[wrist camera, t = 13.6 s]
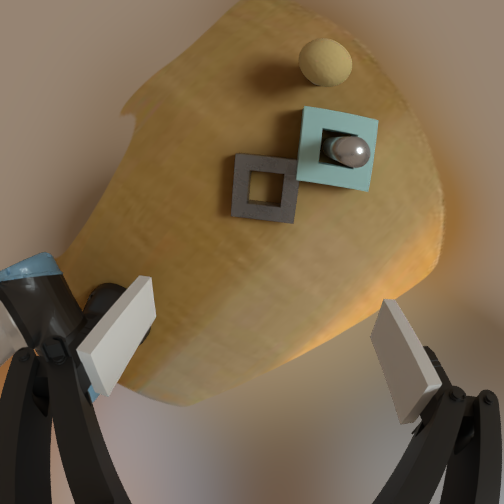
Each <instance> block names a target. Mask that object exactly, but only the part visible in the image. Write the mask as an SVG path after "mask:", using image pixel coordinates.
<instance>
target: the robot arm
mask: <svg viewBox="0 0 504 504" xmlns="http://www.w3.org/2000/svg"><path fill="white" fill-rule="evenodd" d="M155 318H156V311H155V304H154V296H153V288H152V279H151V277H147V276H140V275H139V277H138V278H137V279H136V280H135V281H134V282H133V283H132V284H131V285H130V286H129V288H128V289H126V288H124V287H122V286H120V285H117V284H112V283H105V284H102V285H100V286H98V287H97V288H96V289H95V290H94V291H93V292H92V293H91V294H90V296H89V298H88V301H87V303H86V305H85V308H84V310H83V312H82V310H81V309H80V307H79V305H78V303H77V302H76V300H75V298H74V296H73V294H72V292H71V290H70V288H69V286H68V284H67V282H66V280H65V278H64V276H63V272H62V271H60V269H59V267H58V265H57V264H56V262H55V260H54V258H53V256H52V255H51V254H49V253H46V252H42V253H39V254H37V255H34V256H32V257H30V258H27V259H25V260H23V261H21V262H19V263H16V264H14V265H12V266H10V267H8V268H6V269H4V270H2V271H0V366H1V365H3V364H4V363H5V362H6V361H7V360H8V359H9V358H10V357H11V356H12V355H13V354H14V353H15V354H14V355H13V358H12V361H11V364H10V367H9V370H8V373H7V376H6V380H5V383H4V387H3V390H2V394H1V398H0V504H52V498H51V481H50V443H51V427H52V418H53V423H54V428H55V434H56V439H57V444H58V448H59V452H60V456H61V460H62V464H63V468H64V471H65V474H66V478H67V481H68V484H69V487H70V490H71V493H72V496H73V499H74V502H75V504H132V503H131V501H130V500H129V498H128V496H127V494H126V491H125V490H124V487H123V485H122V483H121V481H120V479H119V477H118V474H117V472H116V470H115V467H114V465H113V462H112V460H111V458H110V455H109V452H108V450H107V447H106V444H105V442H104V439H103V436H102V433H101V430H100V427H99V424H98V421H97V418H96V415H95V411H94V407H93V404H92V403H93V402H94V401H95V400H96V398H97V397H98V396H99V395H100V394H101V395H104V396H107V397H109V395H110V393H111V392H112V390H113V388H114V387H115V385H116V383H117V381H118V380H119V378H120V376H121V374H122V373H123V371H124V369H125V367H126V366H127V364H128V362H129V361H130V359H131V357H132V356H133V354H134V352H135V351H136V349H137V347H138V346H139V345H140V344H142V343H143V342H144V340H145V339H146V337H147V336H148V334H149V332H150V329H151V324H152V323H153V321H154V319H155ZM370 338H371V340H372V343H373V346H374V348H375V351H376V353H377V356H378V359H379V361H380V364H381V367H382V370H383V373H384V375H385V378H386V381H387V384H388V387H389V390H390V393H391V396H392V399H393V402H394V405H395V408H396V412H397V415H398V418H399V421H400V424H407V423H413V422H414V421H415V420H416V419H417V418H418V416H419V415H420V416H421V419H422V421H421V422H420V424H419V425H418V426H417V427H416V428H415V430H414V431H413V432H412V434H413V433H414V436H413V437H412V439H411V442H410V443H409V445H408V447H407V449H406V451H405V453H404V455H403V456H402V458H401V460H400V462H399V463H398V465H397V467H396V468H395V470H394V472H393V473H392V475H391V477H390V478H389V480H388V481H387V483H386V485H385V486H384V487H383V489H382V490H381V492H380V493H379V495H378V496H377V498H376V499H375V501H374V502H373V503H372V504H429V503H430V501H431V499H432V496H433V495H434V493H435V490H436V489H437V486H438V484H439V482H440V480H441V477H442V475H443V473H444V470H445V468H446V465H447V469H446V475H445V481H444V486H443V491H442V495H441V500H440V504H499V497H500V487H501V471H502V439H501V423H500V412H499V403H498V399H497V396H496V395H495V394H494V393H493V392H492V391H490V390H483V391H481V392H480V394H479V395H478V396H477V397H472V396H466V393H465V392H464V391H463V390H462V389H461V388H459V387H457V386H452V385H451V383H450V381H449V379H448V377H447V375H446V373H445V371H444V369H443V367H441V364H440V362H439V361H438V359H437V357H436V355H435V353H434V352H433V351H432V350H431V349H430V348H429V347H428V346H422V344H421V343H420V341H419V339H418V337H417V336H416V334H415V332H414V330H413V329H412V327H411V325H410V324H409V322H408V320H407V319H406V317H405V315H404V314H403V312H402V310H401V309H400V307H399V306H398V304H397V302H396V301H395V300H391V299H383V302H382V305H381V308H380V311H379V314H378V317H377V320H376V323H375V325H374V328H373V331H372V333H371V336H370ZM33 349H35V350H36V352H37V353H38V355H39V356H36V354H35V352H34V350H33Z"/></svg>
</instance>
